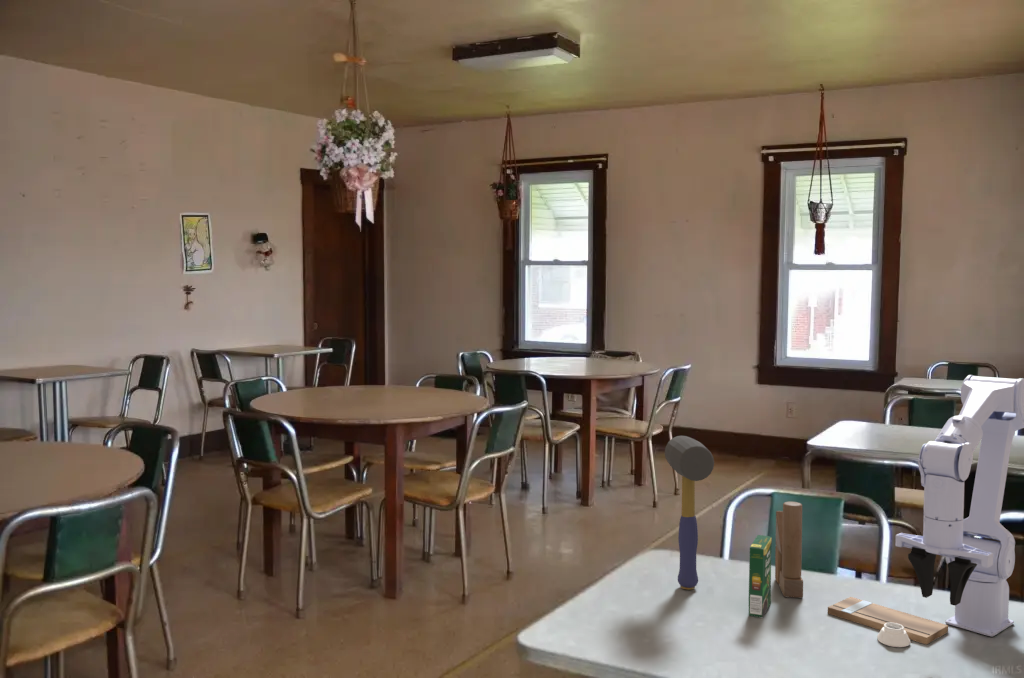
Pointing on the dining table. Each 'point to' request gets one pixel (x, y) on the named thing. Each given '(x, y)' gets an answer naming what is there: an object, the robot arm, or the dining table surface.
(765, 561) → the coffee box
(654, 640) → the dining table surface
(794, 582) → the wooden block
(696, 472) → the rubber mallet
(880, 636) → the lidless jar
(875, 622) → the board
